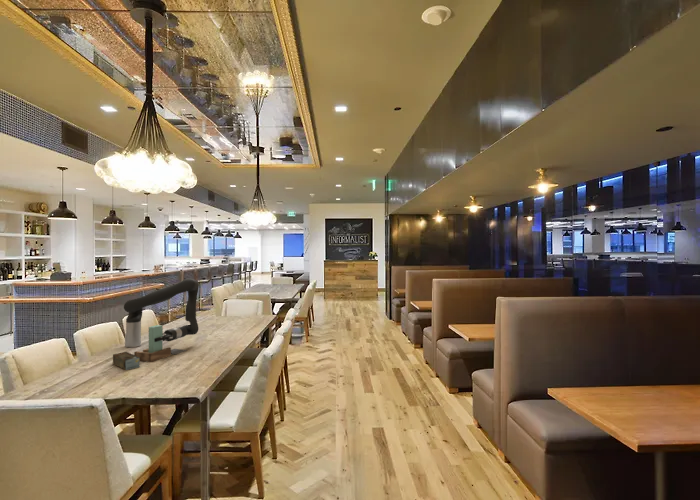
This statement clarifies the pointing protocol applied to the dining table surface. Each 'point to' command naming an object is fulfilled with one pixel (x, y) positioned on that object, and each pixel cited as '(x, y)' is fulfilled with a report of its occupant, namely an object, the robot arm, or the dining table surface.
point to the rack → (153, 355)
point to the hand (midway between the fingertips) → (152, 339)
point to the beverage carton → (126, 360)
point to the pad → (177, 351)
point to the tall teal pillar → (155, 333)
